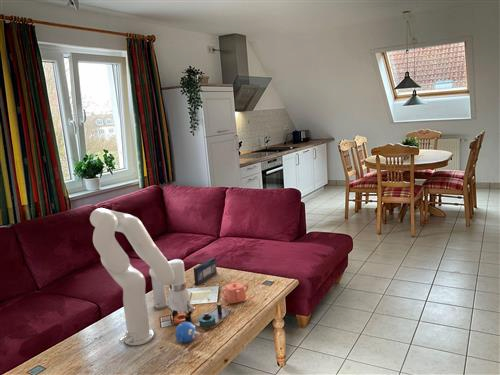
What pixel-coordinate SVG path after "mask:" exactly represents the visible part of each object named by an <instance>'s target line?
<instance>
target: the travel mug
mask: <svg viewBox="0 0 500 375" xmlns="http://www.w3.org/2000/svg"><path fill="white" fill-rule="evenodd" d="M150 277H151V276H150ZM151 286H152V294H153V303H154V309H155V310H156V309H157V310H164V309H166V308H167V307H168V306H167V304H166V303H167V302H168V298H167V290H166V285H162V284H161V283H159V282H158V281H156V280H155V279H153V278H152V277H151Z"/></svg>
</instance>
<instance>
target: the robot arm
mask: <svg viewBox="0 0 500 375" xmlns="http://www.w3.org/2000/svg"><path fill="white" fill-rule="evenodd" d="M89 221H90V222H89V223H90V224H91V225H92V226H93V227H94V229H93V234H92V243H93V246H94V248H95V250H96V251H97V253H98V254H99V256H100V263H101V265H102V266H103V267H104V269H105V270H106V271H107V273H108V274H109V275H110V277H111V278H112V279H113V280H114V282H115V283H116V284H117V285H118V286H120V287H121V289H122V304H123V311H124V319H125V326H126V331H125V332H124V334H125V335H124V336H123V337H121V338H119V339H118V342H119V344H120V345H122V344H124V343H125V344H127V345H128V346H142V345H144V344H146V343H148V342H150V341H151V340H152V339H153V338H154V334H155V333H154V331H153V330H152V329H151V328H150V322H149V320H150V319H149V314H148V312H149V311H148V304H147V297H146V285H147V284H146V283H147V282H146V278H145V276H144V274H143V273H142V272H141V271H139V270H138V269H137V268H135V267H133V265H132V264H131V260H130V257H129V255H128V254H127V253H126V252H125V250H124V249H123V248H122V246H121V245H120V243H119V242H118V240H117V239H116V236H115V234H116V232H118V233H122V234H123V235H124V236H125V237H126V239H127V240H128V243H130V245H131V246H132V249H133V250H134V251H135V253H136V255H137V256H138V257H139V258H140V259H141V260H142V261H144V262H145V263H146V265H147V266H149V270H148V272H149V276H150V277H152V278H153V279H155V280H156V281H158V282H159V283H161V284H162V285H165V286H169V289H168V292H167V294H168V295H167V296H168V298H167V303H166V304H167V307H168V309H169V311H170V313H171V317H172V320H173V321H174V316H176V315H177V314H179V312H180V313H185V315H186V317H185V320H186V322H190V323H192V314H193V313H194V311H195V310H196V308H195V307H194V306H193V305H192V302H191V296H190V292H189V289H188V288H187V279H186V269H185V263H184V261H183V260H182V259H179V258H175V259H171V260H169V261H168V259H167V258H166V256H165V255H164V254H163V252H161V250H160V249H159V247H158V246H157V245H156V243H155V242H154V241H153V239H152V237H151V235H150V233H149V232H148V231H147V228H146V227H145V226H144V224H143V221H141V220H140V219H139V218H138V217H137V216H135V215H132V214H129V213H125V212H120V211H116V210H111V209H107V208H103V207H100V208H96V209H94V210H93V211H92V212H91V213H90V216H89ZM152 278H151V279H152Z"/></svg>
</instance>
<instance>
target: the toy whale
mask: <svg viewBox="0 0 500 375" xmlns="http://www.w3.org/2000/svg"><path fill="white" fill-rule="evenodd" d="M196 329H197V327H196V325H194V324H193V323H192V322H182V323H180V324H178V325H176V328H175V332H174V334H175V338H176V340H177V341H178V343H180V344H187V343H190V342H192V341H193V340H196V338H197V337H199V336H202V335H203V333H202V332H199V331H197V330H196Z"/></svg>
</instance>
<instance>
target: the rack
mask: <svg viewBox="0 0 500 375" xmlns="http://www.w3.org/2000/svg"><path fill="white" fill-rule="evenodd" d="M231 312H232V310H229V309H224V308H222V303H221V302H218V303H216V308H215V309H214V310H213V311H212V312H210V313H209V312H207V311H206V312H204V313H203V315H204V316H205V320H209V314H212V315H214V316H215V322H216V323H214V324H213V325H212V326H207V327H204V326H200V324H199V321H198V322H197V323H195V326H198V327H202V328H205V329H211V328H212V327H213V326H214V325H216V324H217V323H218V322H220V321H221V320H222V319H223V318H224V317H226V316H227V315H229V313H231Z"/></svg>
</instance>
